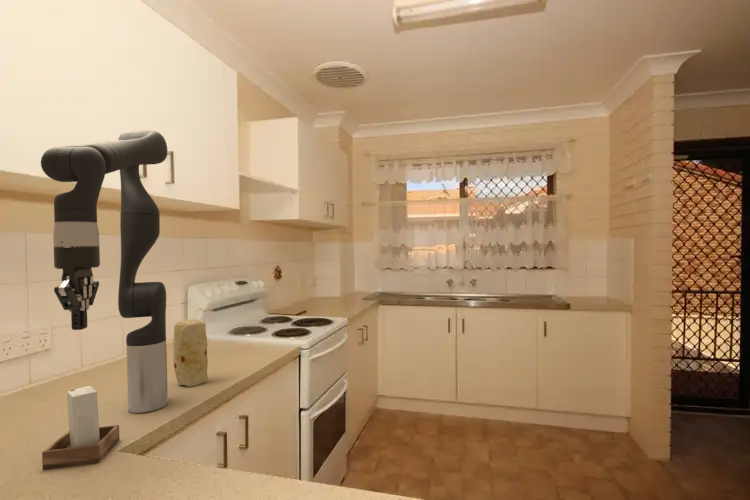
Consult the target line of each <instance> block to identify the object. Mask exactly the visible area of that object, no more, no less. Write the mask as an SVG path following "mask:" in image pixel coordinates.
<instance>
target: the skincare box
mask: <svg viewBox="0 0 750 500" xmlns="http://www.w3.org/2000/svg"><path fill="white" fill-rule="evenodd" d="M66 398H67V415H68V429H69V430H68V431H70V446H71V448H73V447H82V446H91V445H97V444H98V443H99V442H100V436H99V427H100V421H99V405H98V391H97V390H95V389H94V388H93V387H92V386H90V385H87V386H83V387H79V388H75V389H71V390H68V391H67V392H66Z"/></svg>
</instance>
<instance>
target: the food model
mask: <svg viewBox="0 0 750 500" xmlns="http://www.w3.org/2000/svg"><path fill="white" fill-rule="evenodd" d="M206 328H207V327H206V321H203V320H201V319H199V320H198V319H189V318H188V319H182V320H180V321H178V322H176V323H174V327H173V348H172V349H173V351H172V354H173V368H174V374H175V378H176V382H177V383H178V385H180V386H186V387H188V388H189V387H190V388H192V387H195V386H198V385H200V384H202V383H205V382H207V380H208V378H209V377H208V376H209V375H208V367H209V365H208V364H209V362H208V358H209V357H208V339H207V338H208V337H207V330H206Z"/></svg>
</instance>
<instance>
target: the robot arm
mask: <svg viewBox="0 0 750 500" xmlns="http://www.w3.org/2000/svg"><path fill="white" fill-rule="evenodd" d="M168 152H169V151H168V145H167V142H166V139H165V137H164V136H163V135H162V134H161V133H160V132H158V131H156V130H150V129H149V130H147V129H145V130H127V131H123V132H121V133H120V134H119V136H118V140H115V139H114V140H103V141H98V142H91V143H87V144H82V145H81V144H80V145H79V144H78V145H64V146H63V145H62V146H61V145H60V146H53V147H51V148H48V149H47V150H46V151H44V153H43V154H42V156H41V158H40V159H41V160H40V167H41V169H42V171H43V173H44V174H45V176H47V177H48V178H50V179H52V181H56V182H60V183H75V186H74V188H73V189H72V190H70V191H67V192H62V193H59V194H57V195H55V197H54V198H53V199H54V200H53V214H54V215H53V217H54V224H53V225H54V226H53V232H52V235H53V266H54V269H58V270H62V274H61V285H60V286H59V285H58V286H55V287H54V289H53V291H54V294H55V295H56V297H57V299H58V301H59V303H60V305H61V307H62V309H63V310H64V311H68V312H69V313H70V315H71V318H70V322H71V329H72V330H73V331H79V330H85V329H87V328H88V310H89V309H90V306H93V305H94V303H95V298H96V295H97V293H98V289H99V286H100V281H99V280H95V281H94V274H93V270H92V268H98V267H100V265H101V257H100V256H101V255H100V253H101V252H100V251H101V249H100V233H99V227H98V226H99V225H98V208H97V204H98V200H99V197H100V193H101V189H102V186H103V184H104V183H103V182H104V180H105V177H106V175H107V174H110V173H114V172H117V171H119V175H120V176H119V177H120V214H119V215H120V222H119V223H120V227H119V228H120V230H119V231H120V271H119V280H118V281H119V283H118V295H117V296H118V297H117V305H118V312H119V314H120V316H121V318H124V319H135V318H148V317H151V320H150V322H148V324H146V325H144V326H142V327H140V328H137V329H134V330H132V331H130V332H129V333H127V334H126V336H125V337H126V339H125V340H126V341H125V344H126V374H127V409H128V410H127V411H128V412H129V413H132V414H133V413H134V414H141V413H143V414H144V413H149V412H153V411H157V410H160V409H161V408H163V407H166V406H167V405H168V402H169V397H168V396H169V394H168V393H169V391H168V363H167V362H168V361H167V359H168V358H167V357H168V355H167V327H166V326H167V325H166V324H167V323H166V322H167V321H166V315H167V312H166V311H167V290H166V286H165V284H164V282H161V281H150V282H149V281H145V282H136V277H137V273H138V270H139V268H140V265H141V263H142V261H143V260H144V258H145V257H146V256H147V254H149V252H150V250H151V249H152V248H153V246H154V244H155V243H156V242H157V240H158V238H159V236H160V232H161V231H160V229H161V228H160V227H161V226H160V225H161V224H160V221H161V220H160V219H161V218H160V216H161V215H160V209H159V207H158V205H157V203H156V202H155V200H154V199H153V198H152V196H151V195H150V193H149V192H148V191H147V190H146V188H145V187H144V185H143V183H142V180H141V176H140V166H142V165H143V166H144V165H145V166H147V165H158V164H161V163H163V162H164V161H166V159H167V158H168Z"/></svg>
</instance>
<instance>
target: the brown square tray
mask: <svg viewBox="0 0 750 500" xmlns="http://www.w3.org/2000/svg"><path fill="white" fill-rule="evenodd" d="M99 436H100V442H99V443H98V444H97V445H91V446H82V447H73V448H71V446H70V431H69V430H68V431H66V432H65V433H64V434H63V435H62V436H60V437H59V438H58V439H57V440H56V441H54V442H53V443H51V444H50V445H49V446H48V447H47V448H46V449H44V450H43V451H42V452H41V458H42V459H41V461H42V462H41V463H42V470H50V469H59V468H66V467H67V468H68V467H74V466H82V465H90V464H92V465H93V464H99V463H100V462H101V461H102V459H104V458H105V456H107V455H108V453H109V452H110V451H111V450H112V449H113V447H114V446H115V445H117V443H118V442H119V441H120V425H119V424H116V425H115V424H114V425H106V426H105V425H104V426H99Z"/></svg>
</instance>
